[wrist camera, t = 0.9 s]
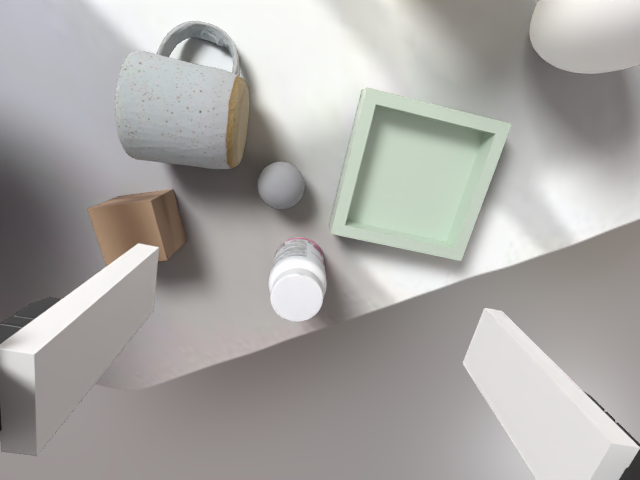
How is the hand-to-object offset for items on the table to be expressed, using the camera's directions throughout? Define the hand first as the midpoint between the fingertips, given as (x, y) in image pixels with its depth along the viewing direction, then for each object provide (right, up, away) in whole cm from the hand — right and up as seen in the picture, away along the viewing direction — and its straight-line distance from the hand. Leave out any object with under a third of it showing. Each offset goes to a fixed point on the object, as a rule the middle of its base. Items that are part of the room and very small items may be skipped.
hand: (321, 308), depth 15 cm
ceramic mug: (-10, +15, +16) cm, 24 cm away
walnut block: (-15, +5, +19) cm, 25 cm away
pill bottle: (-2, +1, +21) cm, 21 cm away
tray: (+8, +9, +19) cm, 22 cm away
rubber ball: (-3, +7, +17) cm, 19 cm away
